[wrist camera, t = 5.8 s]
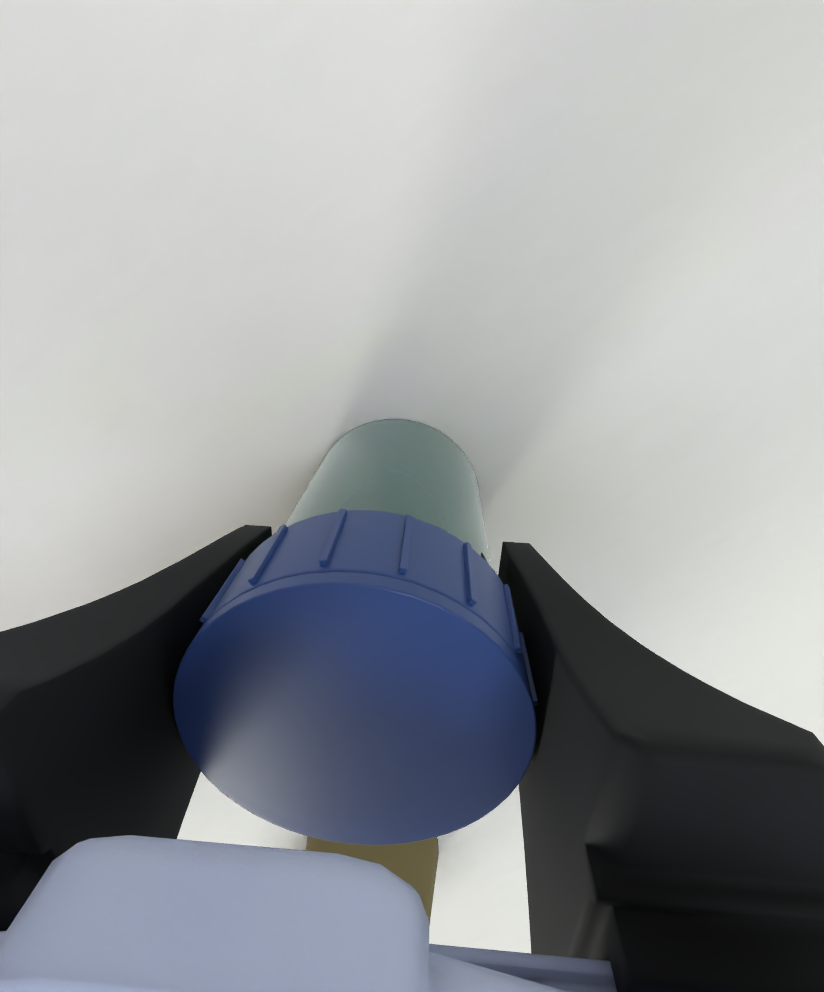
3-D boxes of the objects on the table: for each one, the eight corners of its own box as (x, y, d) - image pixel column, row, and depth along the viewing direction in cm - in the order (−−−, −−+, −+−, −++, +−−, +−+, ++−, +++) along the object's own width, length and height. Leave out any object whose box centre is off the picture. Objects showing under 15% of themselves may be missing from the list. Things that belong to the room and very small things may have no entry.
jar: (283, 492, 16) (149, 691, 8) (397, 382, 14) (350, 512, 7) (396, 591, 17) (363, 835, 10) (512, 501, 15) (575, 714, 8)
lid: (363, 775, 11) (347, 883, 10) (166, 618, 10) (96, 708, 8) (578, 658, 10) (613, 761, 8) (381, 442, 8) (361, 500, 6)
